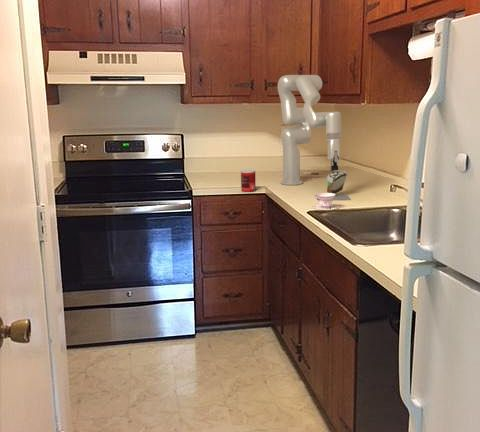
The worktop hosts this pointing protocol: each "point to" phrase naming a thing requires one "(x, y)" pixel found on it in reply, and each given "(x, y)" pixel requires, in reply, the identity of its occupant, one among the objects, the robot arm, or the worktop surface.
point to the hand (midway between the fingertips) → (334, 173)
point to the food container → (336, 181)
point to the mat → (339, 197)
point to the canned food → (248, 181)
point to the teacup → (325, 201)
